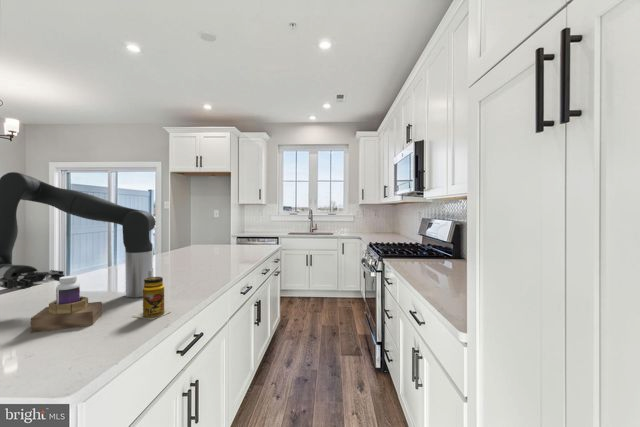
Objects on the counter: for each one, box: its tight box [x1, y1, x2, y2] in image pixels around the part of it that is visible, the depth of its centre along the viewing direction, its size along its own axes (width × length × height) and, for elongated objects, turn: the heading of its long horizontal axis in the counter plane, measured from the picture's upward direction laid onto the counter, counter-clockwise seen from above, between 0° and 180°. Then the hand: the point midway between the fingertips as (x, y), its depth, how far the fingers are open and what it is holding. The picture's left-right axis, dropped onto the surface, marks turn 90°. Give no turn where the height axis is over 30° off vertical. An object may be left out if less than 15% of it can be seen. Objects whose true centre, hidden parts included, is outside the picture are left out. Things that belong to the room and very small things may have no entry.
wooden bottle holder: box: [30, 295, 103, 333], centre depth 90 cm, size 14×10×6 cm
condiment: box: [132, 276, 170, 321], centre depth 97 cm, size 7×8×12 cm
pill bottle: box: [55, 275, 81, 305], centre depth 90 cm, size 5×5×10 cm
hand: (46, 280), depth 94 cm, fingers open, 8 cm apart
